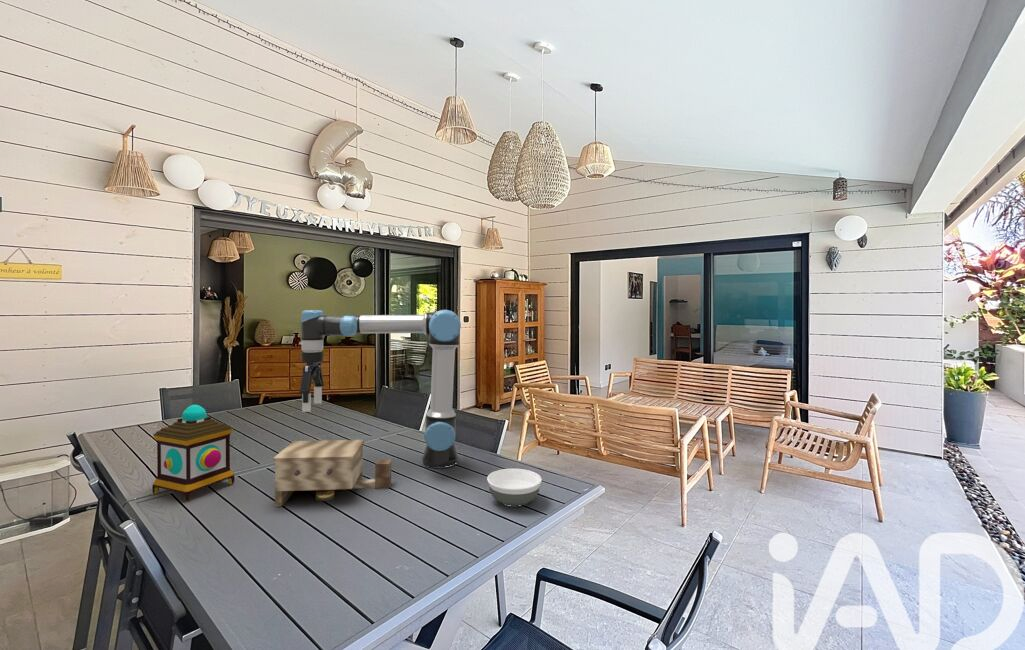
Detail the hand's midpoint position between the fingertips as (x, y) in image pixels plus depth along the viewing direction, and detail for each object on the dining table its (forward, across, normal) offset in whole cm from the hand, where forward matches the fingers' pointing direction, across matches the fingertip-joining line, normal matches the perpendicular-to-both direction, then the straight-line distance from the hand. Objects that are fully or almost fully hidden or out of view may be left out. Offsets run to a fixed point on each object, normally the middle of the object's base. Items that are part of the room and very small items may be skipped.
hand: (312, 407), depth 170 cm
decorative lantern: (+27, +7, -37) cm, 47 cm away
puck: (+27, +18, +10) cm, 34 cm away
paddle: (+27, +10, +17) cm, 33 cm away
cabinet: (+27, +15, +8) cm, 32 cm away
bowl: (+28, +27, +74) cm, 83 cm away
